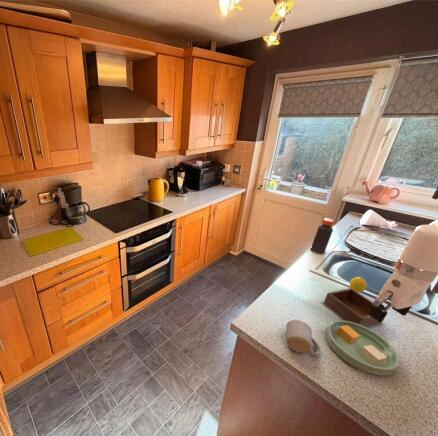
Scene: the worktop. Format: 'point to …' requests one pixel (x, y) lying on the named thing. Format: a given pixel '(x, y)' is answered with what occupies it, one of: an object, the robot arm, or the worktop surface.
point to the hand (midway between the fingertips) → (386, 315)
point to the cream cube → (373, 355)
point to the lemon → (358, 284)
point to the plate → (352, 350)
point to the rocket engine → (376, 220)
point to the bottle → (322, 236)
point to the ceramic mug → (300, 337)
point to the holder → (351, 306)
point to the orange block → (348, 334)
